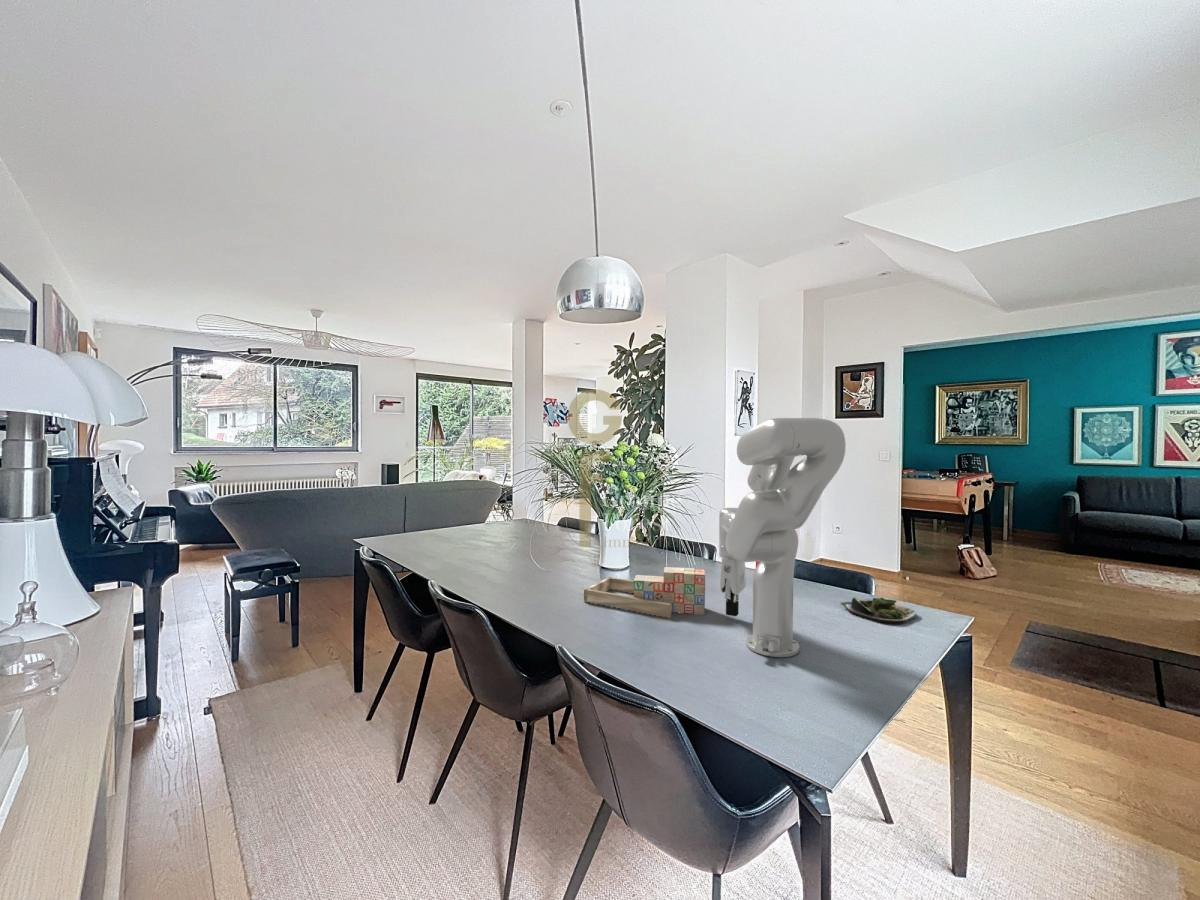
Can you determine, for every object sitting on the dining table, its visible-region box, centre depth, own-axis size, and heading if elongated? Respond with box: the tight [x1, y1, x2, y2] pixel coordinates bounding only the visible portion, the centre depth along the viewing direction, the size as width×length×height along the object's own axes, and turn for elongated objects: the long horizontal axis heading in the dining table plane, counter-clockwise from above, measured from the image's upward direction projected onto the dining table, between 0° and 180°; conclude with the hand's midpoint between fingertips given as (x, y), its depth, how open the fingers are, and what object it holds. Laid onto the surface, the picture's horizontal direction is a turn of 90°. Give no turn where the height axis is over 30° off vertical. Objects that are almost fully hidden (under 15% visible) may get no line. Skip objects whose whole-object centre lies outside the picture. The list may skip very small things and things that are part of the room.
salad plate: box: [839, 596, 917, 626], centre depth 154 cm, size 19×18×5 cm
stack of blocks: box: [633, 566, 706, 616], centre depth 157 cm, size 21×6×12 cm, turn 78°
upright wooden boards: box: [583, 576, 672, 619], centre depth 163 cm, size 16×29×4 cm, turn 60°
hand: (732, 614), depth 148 cm, fingers closed
